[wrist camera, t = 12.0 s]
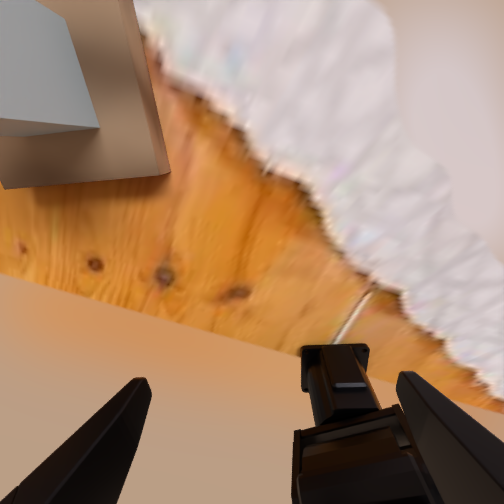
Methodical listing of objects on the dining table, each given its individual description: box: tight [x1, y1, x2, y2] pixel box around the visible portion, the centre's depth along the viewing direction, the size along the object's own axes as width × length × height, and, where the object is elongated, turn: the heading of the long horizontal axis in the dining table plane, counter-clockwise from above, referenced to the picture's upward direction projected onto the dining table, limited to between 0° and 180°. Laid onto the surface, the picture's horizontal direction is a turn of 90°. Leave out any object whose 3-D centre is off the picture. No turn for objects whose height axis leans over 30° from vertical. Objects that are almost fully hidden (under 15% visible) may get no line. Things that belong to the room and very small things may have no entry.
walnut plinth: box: [0, 0, 171, 189], centre depth 14 cm, size 11×11×2 cm
